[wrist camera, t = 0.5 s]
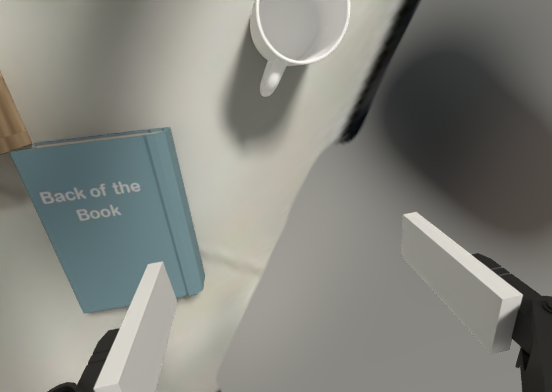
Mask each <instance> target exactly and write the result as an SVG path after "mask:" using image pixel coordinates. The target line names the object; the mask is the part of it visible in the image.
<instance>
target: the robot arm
mask: <svg viewBox="0 0 552 392" xmlns="http://www.w3.org/2000/svg"><path fill="white" fill-rule="evenodd" d="M402 229H403V230H402V257H403V258H404V259H405V260H406V261H407V262H408V264H409V265H410V266H411V267H412V268H413V269H414V270H415V271H416V272H417V273H418V275H419V276H420V277H421V278H422V279H423V280H424V281H425V282H426V283H427V285H428V286H429V287H430V288H431V289H432V290H433V291H434V292H435V293H436V295H438V297H439V298H440V299H441V300H442V301H443V302H444V303H445V304H446V306H447V307H448V308H449V309H450V310H451V311H452V312H453V313H454V314H455V315H456V317H457V318H458V319H459V320H460V321H461V322H462V323H463V324H464V325H465V327H466V328H467V329H468V330H469V331H470V332H471V333H472V334H473V335H474V336H475V337H476V339H477V340H478V341H479V342H480V343H481V344H482V345H483V346H484V347H485V348H486V350H487V351H488V352H489V353H490V354H494V353H499V352H502V351H507V350H509V349H510V345H511V341H512V339H513V340H514V341H515V342H517V343H518V344H519V345H520V346H521V348H520V352H519V355H518V359H517V363H516V367H517V368H519V367H520V370H521V381H522V392H552V297H550V296H541V295H540V294H538V293H537V292H536V291H534V290H533V289H532V288H530V287H529V286H528V285H526V284H525V283H523V282H522V281H521V280H519V279H518V278H517V277H515V276H514V275H512V274H510V273H509V272H508V271H507V270H506V269H504V268H502V267H501V266H500V265H499V264H497V263H496V262H495V261H493V260H492V259H490V258H488V257H486V256H483V255H481V254H479V253H477V254H472V255H471V254H470V253H468V252H467V251H466V250H465V249H463V248H462V247H460V246H459V245H458V244H457V243H455V242H454V241H453V240H451V239H450V238H449V237H448V236H446V235H445V234H444V233H443V232H441V231H440V230H439V229H437V228H436V227H435V226H434V225H432V224H431V223H430V222H428V221H427V220H426V219H425V218H423V217H422V216H421V215H419V214H418V213H417V212H414V213H409V214H404V215H403V228H402ZM176 305H177V299H176V297H175V294H174V291H173V288H172V285H171V283H170V280H169V277H168V274H167V272H166V269H165V266H164V263H163V261H162V262H157V263H152V264H148V265H147V268H146V270H145V272H144V274H143V277H142V279H141V281H140V284H139V286H138V288H137V290H136V293H135V295H134V297H133V300H132V302H131V304H130V306H129V309H128V311H127V313H126V316H125V318H124V320H123V322H122V325H121V327H120V328H118V329H113V330H109V331H108V332H107V333H106V334H105V335H104V336H103V337H102V338H101V339H100V341H99V342H98V344H97V346H96V348H95V350H94V352H93V355H92V356H91V358H90V360H89V362H88V365H87V366H86V368H85V370H84V372H83V374H82V376H81V378H80V380H79V382H78V384H77V385H76V384H75V383H72V382H66V383H63V384H60V385H58V386H56V387H54V388H52V389H51V390H49V391H48V392H156V388H157V384H158V380H159V376H160V372H161V367H162V363H163V359H164V355H165V351H166V347H167V342H168V338H169V334H170V330H171V326H172V322H173V317H174V313H175V309H176Z"/></svg>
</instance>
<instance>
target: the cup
mask: <svg viewBox="0 0 552 392" xmlns="http://www.w3.org/2000/svg"><path fill="white" fill-rule="evenodd" d="M349 17H350V0H255V2H254V6H253V9H252V12H251V18H250V31H251V36H252V40H253V42H254V45H255V47H256V48H257V50H258V51H259V53H260V54H261V55H262V56H263V57H264V58H265V59H267V60H268V62H267V65H266V68H265V71H264V74H263V77H262V81H261V85H260V93H261V95H262V96H264V97H268V96H270V95H271V94H272V93H273V92H274V91H275V89H276V87H277V86H278V84H279V82H280V80H281V78H282V75H283V73H284V71H285V68H286V66H296V65H306V64H312V63H315V62H318V61H320V60H322V59H324V58H325V57H327V56H328V55H329V54H331V53H332V52H333V51H334V50H335V49H336V47H337V46H338V45H339V43H340V42H341V40H342V39H343V37H344V35H345V32H346V30H347V26H348V23H349Z"/></svg>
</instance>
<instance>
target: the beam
mask: <svg viewBox="0 0 552 392" xmlns="http://www.w3.org/2000/svg"><path fill="white" fill-rule="evenodd" d="M29 144H32V142H31V140H30V137H29V135H28V133H27V131H26V128H25V126H24V124H23V122H22V119H21V117H20V115H19V113H18V110H17V108H16V106H15V104H14V101H13V99H12V97H11V95H10V92H9V90H8V88H7V86H6V83H5V81H4V79H3V77H2V74H1V72H0V155H1V154H3V153H6V152H9V151H12V150H15V149H18V148H20V147H23V146H26V145H29Z"/></svg>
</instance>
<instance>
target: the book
mask: <svg viewBox="0 0 552 392" xmlns="http://www.w3.org/2000/svg"><path fill="white" fill-rule="evenodd" d="M34 144H35V147H33V148H31V149H24V150H16V151H12V152H10V155H11V157H12V159H13V161H14V163H15V165H16V168H17V170H18V172H19V174H20V176H21V178H22V181H23V183H24V185H25V187H26V189H27V191H28V194H29V196H30V198H31V200H32V202H33V204H34V207H35V209H36V211H37V213H38V215H39V217H40V220H41V222H42V224H43V226H44V228H45V230H46V233H47V235H48V237H49V239H50V241H51V243H52V246H53V248H54V250H55V252H56V254H57V256H58V259H59V261H60V263H61V265H62V267H63V269H64V272H65V274H66V276H67V278H68V280H69V282H70V285H71V287H72V289H73V291H74V293H75V295H76V298H77V300H78V302H79V304H80V306H81V308H82V311H83V313H90V312H96V311H102V310H108V309H114V308H120V307H126V306H130V304H131V302H132V300H133V297H134V295H135V293H136V290H137V288H138V286H139V284H140V281H141V279H142V277H143V274H144V272H145V270H146V268H147V265H148V264H152V263H157V262H162V261H163V263H164V266H165V269H166V272H167V274H168V277H169V280H170V283H171V285H172V288H173V291H174V294H175V297H176V298H180V297H184V296H185V295H189V296H192V295H196V294H198V293H199V292H200V291H202V290H203V286H204V279H205V273H204V269H203V265H202V261H201V256H200V252H199V248H198V244H197V239H196V235H195V231H194V227H193V222H192V218H191V214H190V210H189V205H188V201H187V197H186V193H185V188H184V184H183V180H182V176H181V171H180V167H179V163H178V159H177V154H176V150H175V146H174V142H173V137H172V133H171V129H170V127H166V128H157V129H149V130H141V131H132V132H124V133H115V134H107V135H99V136H90V137H82V138H73V139H65V140H57V141H48V142H40V143H34Z"/></svg>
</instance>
